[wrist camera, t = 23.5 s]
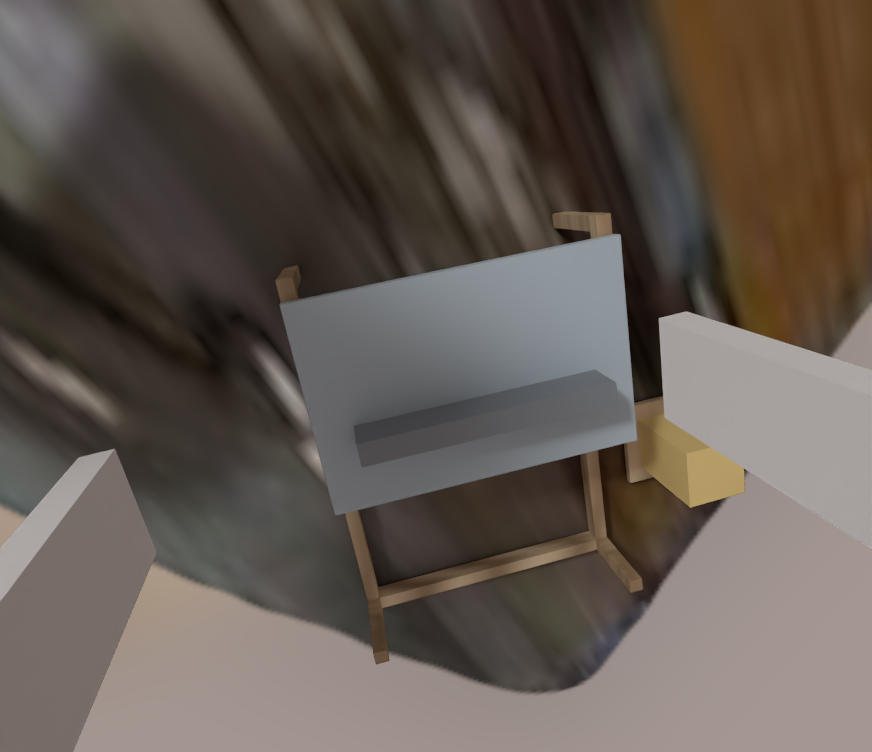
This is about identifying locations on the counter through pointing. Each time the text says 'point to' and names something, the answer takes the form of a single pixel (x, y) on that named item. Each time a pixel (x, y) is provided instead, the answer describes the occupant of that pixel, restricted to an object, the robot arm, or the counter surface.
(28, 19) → the counter surface
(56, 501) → the robot arm
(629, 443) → the cork coaster
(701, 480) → the ochre block
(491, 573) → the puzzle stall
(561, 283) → the cover
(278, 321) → the counter surface
